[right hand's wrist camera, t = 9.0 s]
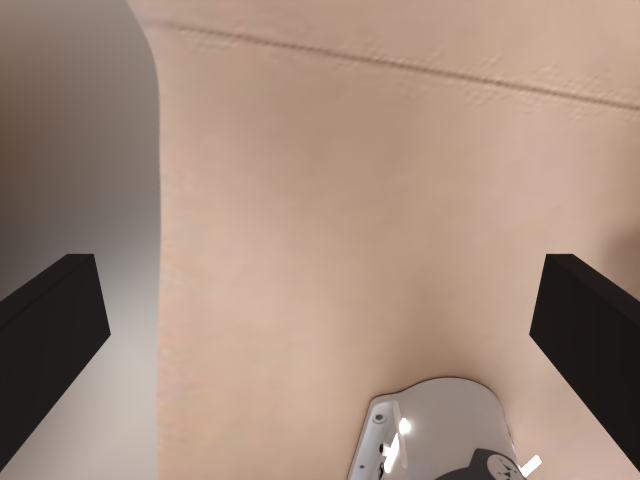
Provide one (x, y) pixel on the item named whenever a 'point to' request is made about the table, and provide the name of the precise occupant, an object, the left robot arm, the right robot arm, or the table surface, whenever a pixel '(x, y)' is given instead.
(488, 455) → the left robot arm
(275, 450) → the table surface
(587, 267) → the right robot arm
